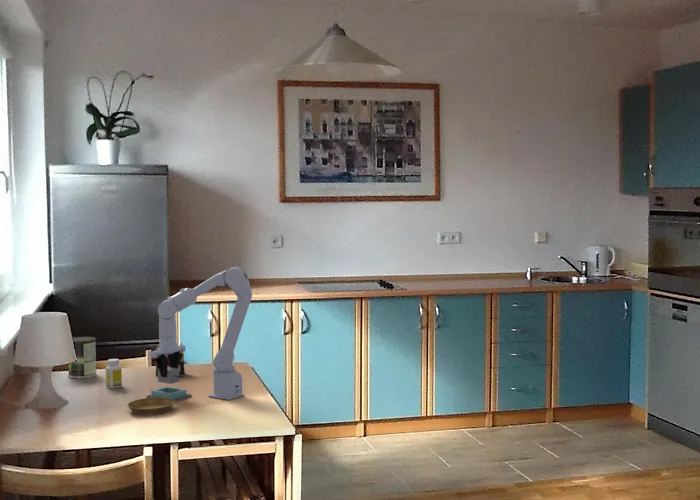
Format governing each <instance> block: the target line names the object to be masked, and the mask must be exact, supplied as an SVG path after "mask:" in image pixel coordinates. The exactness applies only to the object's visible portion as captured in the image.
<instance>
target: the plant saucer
mask: <svg viewBox="0 0 700 500" xmlns="http://www.w3.org/2000/svg"><path fill="white" fill-rule="evenodd" d="M175 403H176V401H174V400H172V399H169V398H147V397H146V398H140V399H135V400H132V401H129V402H128V403H127V407H128V408H129V409H130V410H131V412H133V413H134V414H137V415H142V414H143V416H145V415H147V416H148V415H150V414H152V415H158V414H159V413H160V414H163V412H164V413H166V411H167V412H168V411H169V410H170V409H171V408H172V407H173V406H175V405H174V404H175Z"/></svg>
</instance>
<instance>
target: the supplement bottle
mask: <svg viewBox="0 0 700 500" xmlns="http://www.w3.org/2000/svg"><path fill="white" fill-rule="evenodd" d="M122 374H123V373H122V366H121V365H120V359H119V358H109V359H107V366H106V367H105V385H106V386H105V387H106V388H108V389H117V388H118V389H119V388H122V385H123V380H122V379H123V378H122V377H123V376H122Z"/></svg>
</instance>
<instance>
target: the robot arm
mask: <svg viewBox="0 0 700 500" xmlns="http://www.w3.org/2000/svg"><path fill="white" fill-rule="evenodd" d="M225 286H228V287H229V288H231V290H232V291H233V292H234V294H235V296H236V298H237V299H236V302H235V306H234V307H233V310H232V314H231V316H230V320H229V323H228V326H227V329H226V332H225V334H224V337H223V341H222V343H221V346H220V349H219V350H218V351H217V352H216V354H215V356H214V358H213V360H212V361H213V362H212V363H213V367H214V368H212V369H213V374H212V375H213V376H212V377H213V393H211V394H208V395H207V396H208V397H210V398H215V399H222V400H228V401H229V400H235V399H237V398H240V397H242V396H244V395H245V393H243V376H242V373H240V372H239V371H236V370H235V369H236V368H235V366H234V365H233V362H234V361H235V354H234V352H235V349H236V345H237V343H238V340H239V336H240V334H241V330H242V328H243V325H244V322H245V319H246V316H247V312H248V310H249V306H250V304H251V301H252V298H253V293H252V289H251V284H250V281H249V276H248V274H247V273H246V272H245V270H244V269H243V267H241V266H236V265H235V266H232V267H230V268H229V269H225V270H223V271H220V272H218V273H216V274H214V275H213V276H210V278H208V279H206V280H204V281H203V282H202V283H200V284H199V285H197V286H195V287H194V288H189V287H186V288H184V287H183V288H181V289H179V292H177V293H175V294H174V295H172V296H170V295H169V296H168V297H167V299H166V300H163V301H162V302H161V303H160V304H159V305H158V306H157V313H158V314H157V315H159V317H158V319H159V322H158V335H159V336H158V337H159V339H158V340H159V341H158V342H159V344H158V345H159V348H158V350H156V349H155V350H153V351H150V352H149V353H150V355H149V357H150V358H151V359H153V360H154V362H155V365H156V364H157V366H158V368H159V371H160V375H161V377H167V367H168V362H169V364H170V367H172V368H178V365H179V363H180V360H181V358H182V357H183V353H185V352H186V345H183V344H182V345H181V344H180V345H178V343H177V341H178V340H177V339H178V338H177V337H178V336H177V320H176V314H177V312H179V313H180V312H182V311H184V310H185V309H187V308H189V307H190V306H192V305H194V304H196V302H197V299H198V297H200V296H202V295H203V294H205V293H207V292H208V291H210V290H212V289H214V288H217V287H225ZM177 345H178V346H177ZM180 352H183V353H180ZM165 355H167V356H168V357H166V356H165ZM179 366H180V365H179Z"/></svg>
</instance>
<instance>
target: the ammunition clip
mask: <svg viewBox="0 0 700 500" xmlns="http://www.w3.org/2000/svg"><path fill="white" fill-rule="evenodd" d="M180 345H183V343H182V342H181V343H180ZM177 346H179V345H178V344H177ZM158 348H159V344H157V345H156V348H155V350H158ZM180 353H183V357H182V358H181V360H180V363H179V365H178V368H179V375H180V376H184V375H185V374H186V373H185V355H184V354H185V352H180ZM165 356H166V357H168V356H167V355H165ZM168 367H170V364H169V362H168ZM157 374H158V366H157V364H156V363H155V377H158V375H157Z"/></svg>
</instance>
